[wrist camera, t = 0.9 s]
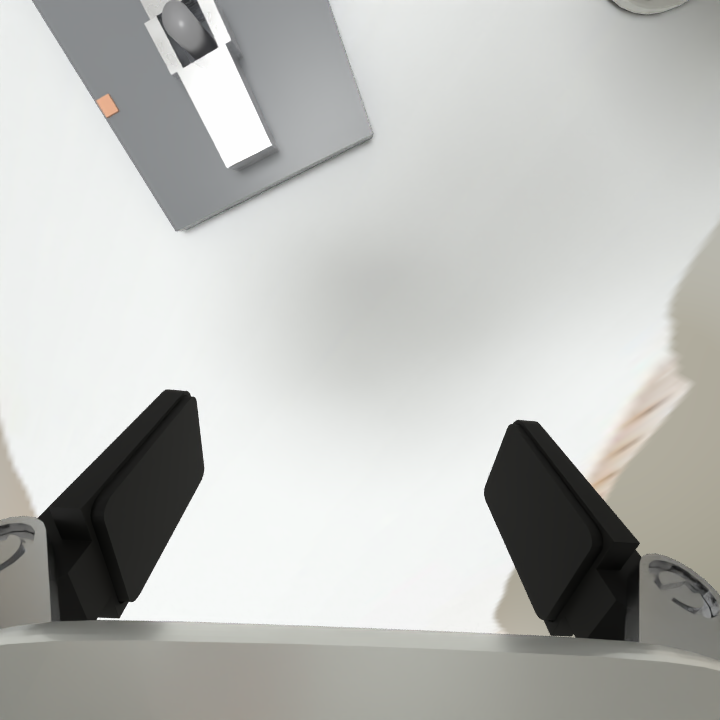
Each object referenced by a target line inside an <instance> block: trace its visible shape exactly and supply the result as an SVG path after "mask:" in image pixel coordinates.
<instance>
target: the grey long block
mask: <svg viewBox="0 0 720 720" xmlns="http://www.w3.org/2000/svg"><path fill="white" fill-rule="evenodd" d="M140 1H141V3H142V5H143V7H144V9H145V11H146V13H147V15H148V17H149V18H150V20H149V21H147V22H146V23H144V24H145V26H146V28H147V30H148V32H149V34H150V36H151V38H152V39H153V41H154V43H155V45H156V47H157V49H158V51H159V53H160V55H161V57H162V58H163V60H164V62H165V64H166V66H167V68H168V70H169V72H170V74H171V75H172V76H173V77H175V78H176V79H177V80H179V81H180V82H182V83H183V84H184V86H185V88H186V90H187V92H188V94H189V96H190V98H191V99H192V101H193V103H194V105H195V107H196V109H197V111H198V113H199V115H200V117H201V119H202V121H203V123H204V125H205V126H206V128H207V130H208V132H209V134H210V136H211V138H212V140H213V142H214V144H215V146H216V148H217V150H218V152H219V154H220V155H221V157H222V159H223V161H224V163H225V165H226V167H227V168H229V169H233V170H236V171H240V170H242V169H244V168H246V167H248V166H250V165H252V164H253V163H255V162H257V161H259V160H261V159H263V158H265V157H267V156H269V155H271V154H273V153H275V152H277V151H279V150H278V148H277V146H276V144H275V141H274V139H273V137H272V135H271V133H270V130H269V128H268V126H267V124H266V121H265V119H264V117H263V115H262V113H261V110H260V108H259V106H258V104H257V101H256V99H255V97H254V95H253V93H252V90H251V88H250V86H249V84H248V81H247V79H246V77H245V75H244V73H243V70H242V68H241V66H240V64H239V61H238V60H240V59H242V58H244V57H243V55H242V53H241V50H240V48H239V46H238V44H237V41H236V39H235V37H234V34H233V32H232V30H231V28H230V25H229V23H228V21H227V19H226V16H225V14H224V12H223V10H222V8H221V6H220V5H219V3H218V2H217V0H177V1H180V2H182V3H183V4H185V5H186V6H187V8H188V9H189V10H190V11H191V13H192V14H193V15H194V16H195V17H196V19H197V20H198V21H199V22H202V21H204V20H205V19H206V21H207V23H208V25H209V27H210V29H211V31H212V34H213V36H214V38H215V40H216V42H217V44H218V46H219V48H217V49H215V50H214V51H212V52H210V53H208V54H207V55H205V56H203V57H202V58H200V59H198V60H196V61H195V62H193V63H190V61H189V59H188V57H187V55H186V53H185V51H184V49H183V47H181V46H180V45H179V44H178V43H177V42H176V41H175V40H174V39H173V38H172V37H171V36H170V35H169V34H168V33H167V31H166V30H165V28H164V25H163V22H162V10H163V7H164V6H165V4H166V3H167V2H169V1H171V0H140Z"/></svg>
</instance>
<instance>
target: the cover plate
mask: <svg viewBox="0 0 720 720" xmlns="http://www.w3.org/2000/svg"><path fill="white" fill-rule="evenodd" d="M32 1H33V3H34V4H35V6H36V8H37V9H38V11H39V13H40V14H41V16H42V17H43V19H44V21H45V22H46V24H47V25H48V27H49V29H50V30H51V32H52V33H53V35H54V37H55V38H56V40H57V41H58V43H59V45H60V46H61V48H62V49H63V51H64V53H65V54H66V56H67V57H68V59H69V61H70V62H71V64H72V66H73V67H74V69H75V70H76V72H77V74H78V75H79V77H80V78H81V80H82V82H83V83H84V85H85V86H86V88H87V90H88V91H89V93H90V94H91V96H92V98H93V99H94V101H95V102H96V104H97V106H98V107H99V109H100V110H101V112H102V114H103V115H104V117H105V118H106V120H107V122H108V123H109V125H110V127H111V128H112V130H113V131H114V133H115V135H116V136H117V138H118V139H119V141H120V143H121V144H122V146H123V147H124V149H125V151H126V152H127V154H128V155H129V157H130V159H131V160H132V162H133V163H134V165H135V167H136V168H137V170H138V171H139V173H140V175H141V176H142V178H143V180H144V181H145V183H146V184H147V186H148V188H149V189H150V191H151V192H152V194H153V196H154V197H155V199H156V200H157V202H158V204H159V205H160V207H161V208H162V210H163V212H164V213H165V215H166V216H167V218H168V220H169V221H170V223H171V224H172V226H173V228H174V229H175V231H183V230H187V229H189V228H191V227H193V226H195V225H197V224H199V223H201V222H203V221H205V220H207V219H209V218H211V217H213V216H215V215H217V214H219V213H221V212H223V211H225V210H227V209H229V208H231V207H233V206H235V205H237V204H239V203H241V202H243V201H245V200H247V199H249V198H251V197H253V196H255V195H257V194H259V193H261V192H263V191H265V190H267V189H269V188H271V187H273V186H275V185H278V184H280V183H282V182H284V181H286V180H288V179H290V178H292V177H294V176H296V175H298V174H300V173H302V172H304V171H306V170H308V169H310V168H312V167H314V166H316V165H318V164H320V163H322V162H324V161H326V160H328V159H330V158H332V157H334V156H336V155H338V154H340V153H342V152H344V151H346V150H348V149H350V148H352V147H354V146H356V145H358V144H360V143H362V142H364V141H366V140H368V139H370V138H372V135H373V132H372V129H371V126H370V123H369V120H368V117H367V114H366V111H365V108H364V105H363V102H362V99H361V96H360V93H359V90H358V87H357V84H356V81H355V78H354V75H353V72H352V69H351V66H350V63H349V60H348V58H347V55H346V52H345V49H344V46H343V43H342V40H341V37H340V34H339V31H338V28H337V25H336V22H335V19H334V16H333V13H332V10H331V7H330V4H329V1H328V0H217V2H218V3H219V5H220V6H221V8H222V10H223V12H224V14H225V16H226V19H227V21H228V23H229V25H230V28H231V30H232V32H233V34H234V37H235V39H236V41H237V44H238V46H239V48H240V50H241V53H242V55H243V57H244V58H242V59H240V60H238V61H239V64H240V66H241V68H242V70H243V73H244V75H245V77H246V79H247V81H248V84H249V86H250V88H251V90H252V93H253V95H254V97H255V99H256V101H257V104H258V106H259V108H260V110H261V113H262V115H263V117H264V119H265V121H266V124H267V126H268V128H269V130H270V133H271V135H272V137H273V139H274V141H275V144H276V146H277V148H278V150H279V151H277V152H275V153H273V154H271V155H269V156H267V157H265V158H263V159H261V160H259V161H257V162H255V163H253V164H252V165H250V166H248V167H246V168H244V169H242V170H240V171H236V170H233V169H229V168H227V167H226V165H225V163H224V161H223V159H222V157H221V155H220V154H219V152H218V150H217V148H216V146H215V144H214V142H213V140H212V138H211V136H210V134H209V132H208V130H207V128H206V126H205V125H204V123H203V121H202V119H201V117H200V115H199V113H198V111H197V109H196V107H195V105H194V103H193V101H192V99H191V98H190V96H189V94H188V92H187V90H186V88H185V86H184V84H183V83H182V82H180V81H179V80H177V79H176V78H175V77H173V76H172V75H171V74H170V72H169V70H168V68H167V66H166V64H165V62H164V60H163V58H162V57H161V55H160V53H159V51H158V49H157V47H156V45H155V43H154V41H153V39H152V38H151V36H150V34H149V32H148V30H147V28H146V26H145V24H144V23H146V22H147V21H149V20H150V18H149V17H148V15H147V13H146V11H145V9H144V7H143V5H142V3H141V1H140V0H32ZM162 22H163V25H164V28H165V30H166V31H167V33H168V34H169V35H170V36H171V37H172V38H173V39H174V40H175V41H176V42H177V43H178V44H179V45H180V46H181V47H183V49H184V51H185V53H186V55H187V57H188V59H189V61H190V63H193V62H195V61H196V60H198V59H200V58H202V57H203V56H205V55H207V54H208V53H210V52H212V51H214V50H215V49H217V48H219V46H218V44H217V42H216V40H215V38H214V36H213V34H212V31H211V29H210V27H209V25H208V23H207V21H206V19H205V20H204V21H202V22H199V21H198V20H197V19H196V17H195V16H194V15H193V14H192V13H191V11H190V10H189V9H188V8H187V6H186V5H185V4H183V3H182V2H180V1H177V0H171V1H169V2H167V3H166V4H165V6H164V7H163V10H162Z"/></svg>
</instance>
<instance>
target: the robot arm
mask: <svg viewBox="0 0 720 720" xmlns="http://www.w3.org/2000/svg"><path fill="white" fill-rule="evenodd" d="M612 1H614V2H615V3H616V4H617V5H618V6H620V7H621V8H623V9H626V10H628V11H630V12H633V13H640V14H654V13H661V12H665V11H667V10H670V9H673V8H675V7H678V6H680V5H681V4H683V3H685V2H686V1H688V0H612ZM203 474H204V461H203V453H202V444H201V435H200V426H199V418H198V409H197V401H196V398H195V397H191V395H190V393H189V392H188V391H180V390H165V391H163V392H162V393H161V394H160V395H159V396H158V397H157V398H156V399H155V400H154V401H153V402H152V403H151V404H150V405H149V406H148V407H147V408H146V409H145V410H144V411H143V412H142V413H141V414H140V415H139V416H138V417H137V418H136V419H135V420H134V421H133V422H132V423H131V424H130V425H129V426H128V427H127V428H126V429H125V430H124V431H123V432H122V434H121V435H120V436H119V437H118V438H117V439H116V440H115V441H114V442H113V443H112V444H111V445H110V446H109V447H108V448H107V449H106V450H105V451H104V452H103V453H102V454H101V455H100V456H99V457H98V458H97V459H96V460H95V461H94V462H93V463H92V464H91V465H90V466H89V467H88V468H87V469H86V470H85V471H84V472H83V473H82V474H81V475H80V476H79V477H78V478H77V479H76V480H75V481H74V482H73V483H72V484H71V485H70V486H69V487H68V488H67V489H66V490H65V491H64V492H63V493H62V494H61V495H60V496H59V497H58V498H57V499H56V500H55V501H54V502H53V503H52V504H51V505H50V506H49V507H48V508H47V509H46V510H45V511H44V512H43V513H42V514H41V515H40V516H39V517H38V518H36V517H28V516H19V517H10V518H7V519H3V520H0V720H720V595H719V594H718V593H717V591H716V590H715V589H714V588H713V587H712V586H711V585H710V584H709V583H708V582H707V581H706V580H705V579H703V578H702V577H701V576H699V575H698V574H697V573H696V572H694V571H693V570H692V569H690V568H688V567H687V566H685V565H684V564H682V563H680V562H678V561H676V560H674V559H672V558H669V557H667V556H663V555H659V554H646V555H644V556H643V557H641V556H640V555H639V554H638V552H637V551H636V550H635V549H636V548H637V547H638V545H639V544H640V543H639V542H638V540H637V539H636V538H635V537H634V536H633V535H632V533H631V532H630V531H629V530H628V529H627V527H626V526H625V525H624V524H623V523H622V521H621V520H620V519H619V518H618V517H617V515H616V514H615V513H614V512H613V511H612V509H611V508H610V507H609V506H608V505H607V504H606V502H605V501H604V500H603V499H602V498H601V496H600V495H599V494H598V493H597V492H596V490H595V489H594V488H593V487H592V486H591V484H590V483H589V482H588V481H587V480H586V479H585V477H584V476H583V475H582V474H581V473H580V471H579V470H578V469H577V468H576V467H575V465H574V464H573V463H572V462H571V461H570V459H569V458H568V457H567V456H566V455H565V454H564V452H563V451H562V450H561V449H560V448H559V446H558V445H557V444H556V443H555V442H554V440H553V439H552V438H551V437H550V436H549V434H548V433H547V432H546V431H545V430H544V429H543V427H542V426H541V425H540V424H539V423H538V422H535V421H524V420H516V421H515V422H514V423H513V424H510V425H509V426H508V428H507V430H506V433H505V436H504V438H503V441H502V443H501V446H500V449H499V451H498V454H497V456H496V459H495V462H494V464H493V467H492V470H491V472H490V475H489V477H488V480H487V483H486V485H485V488H484V496H485V500H486V503H487V505H488V507H489V509H490V512H491V514H492V516H493V518H494V521H495V523H496V525H497V527H498V529H499V532H500V534H501V536H502V538H503V541H504V543H505V545H506V547H507V550H508V552H509V554H510V556H511V559H512V561H513V563H514V565H515V568H516V570H517V572H518V574H519V577H520V579H521V581H522V583H523V585H524V588H525V590H526V592H527V595H528V597H529V599H530V601H531V604H532V605H533V608H534V610H535V612H536V614H537V616H538V617H539V618H540V619H542V620H544V622H545V624H546V626H547V629H548V631H549V633H550V635H551V636H536V635H535V636H534V635H513V634H492V633H470V632H449V631H425V630H400V629H376V628H350V627H325V626H299V625H270V624H240V623H211V622H182V621H119V620H97V618H98V617H99V618H120V616H121V615H122V613H123V611H124V609H125V607H126V606H127V604H128V602H133V601H135V600H136V599H137V598H138V596H139V595H140V593H141V591H142V589H143V587H144V586H145V584H146V582H147V580H148V578H149V576H150V574H151V573H152V571H153V569H154V567H155V565H156V563H157V561H158V560H159V558H160V556H161V554H162V552H163V550H164V549H165V547H166V545H167V543H168V541H169V539H170V537H171V536H172V534H173V532H174V530H175V528H176V526H177V524H178V523H179V521H180V519H181V517H182V515H183V513H184V512H185V510H186V508H187V506H188V504H189V502H190V500H191V499H192V497H193V495H194V493H195V491H196V489H197V488H198V486H199V484H200V482H201V480H202V477H203ZM573 634H574V635H575V637H576V638H572V637H557V636H572V635H573Z"/></svg>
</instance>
